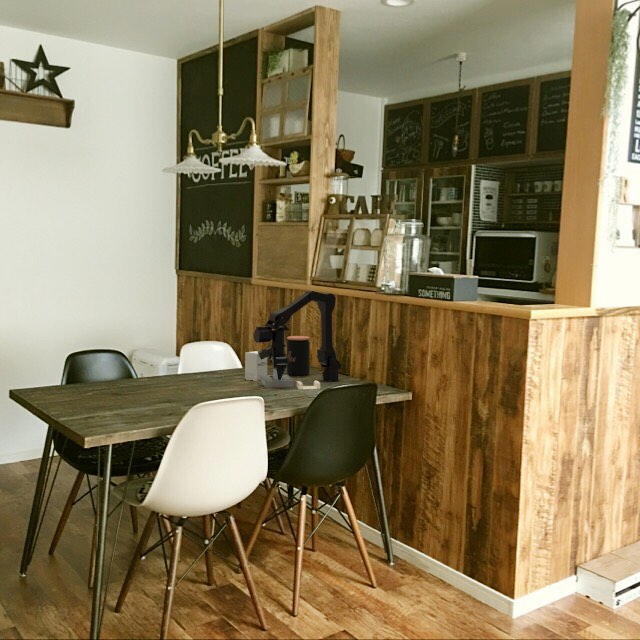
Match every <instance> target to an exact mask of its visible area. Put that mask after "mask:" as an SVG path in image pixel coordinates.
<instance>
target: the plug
mask: <svg viewBox="0 0 640 640" xmlns="http://www.w3.org/2000/svg"><path fill="white" fill-rule="evenodd" d="M272 369H273V371H272V372H273V373H272V375H273V380H278V376H277V370H276V367H275V369H274V368H272ZM281 380H283V376H282V378H281Z"/></svg>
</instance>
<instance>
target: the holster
mask: <svg viewBox="0 0 640 640" xmlns="http://www.w3.org/2000/svg"><path fill="white" fill-rule="evenodd" d="M295 384H296V386H295V387H296V388H297V389H298V390H320V389H321V382H320V381H318V380H313V385H304V384H303V382H302V381H300V380H296V381H295Z"/></svg>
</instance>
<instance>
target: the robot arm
mask: <svg viewBox="0 0 640 640" xmlns="http://www.w3.org/2000/svg"><path fill="white" fill-rule="evenodd" d="M310 302H316V303H317V307H318V309H319V312H320V316H321V317H320V319H321V320H320V324H321V325H320V326H321V327H320V328H321V331H320V332H321V334H320V335H321V346H320V348H319V349H316V353H317V355H316V359H317V362H318V363H319V364H320V366H321V368H323V370H322V372H321V373H322V375H321V381H322V382H329V383H331V382H332V383H333V382H335V383H336V382H339V370H341V368H342V363H341V362H340V361H339V360H338V358H337V354H336V353H337V352H336V350H335V347H334V346H333V312H334V310H335V308H336V302H337V298H336V296H335V295H334V294H333V293H331V292H317V291H314V290H306V291H304V292H303V294H301V295H300V296H298V297H297V298H296V299H294V300H293V301H292V302H291V303H289V304H287V306H283V307H282V308H279V309H277V310H275V311H273V312H271V313H270V314H269V317H268V320H267V321H266V323H265V324H264V326H258V325H256V326H255V330H254V332H253V340H254V342H255V343H257V344H260V343H261V344H262V343H269V342H271V343H270V344H269V347H266V348H263V349H261V350H258V354H259V357H260V359H261V360H262V359H264V358H266V357H267V360H269V362H270V363H271V364H272V369H275V367H276V370H277V376H278V380H281V378H282V376H283V375H284V374H285V370H287V365H288V359H287V356H286V348H287V343H286V339H285V338H286V337H285V336H286V335H285V334H286V333H285V332H288V331H291V330H290V328H289V327H288V326H287V325H286V324H287V323H288V322H289V321H290V320H291V318H292V316H294V315H295V313H297V312H299V310H301V309H302V308H304V307H305V306H307V305H308V304H309V303H310Z"/></svg>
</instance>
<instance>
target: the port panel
mask: <svg viewBox="0 0 640 640" xmlns="http://www.w3.org/2000/svg"><path fill="white" fill-rule="evenodd" d="M260 383H261V384H262V386H263V387H264V388H267V389H268V388H271V389H273V388H276V389H277V388H294V380H293V379H292V376H289V375H288V374H283V380H273V374H267V375H261V380H260Z"/></svg>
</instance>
